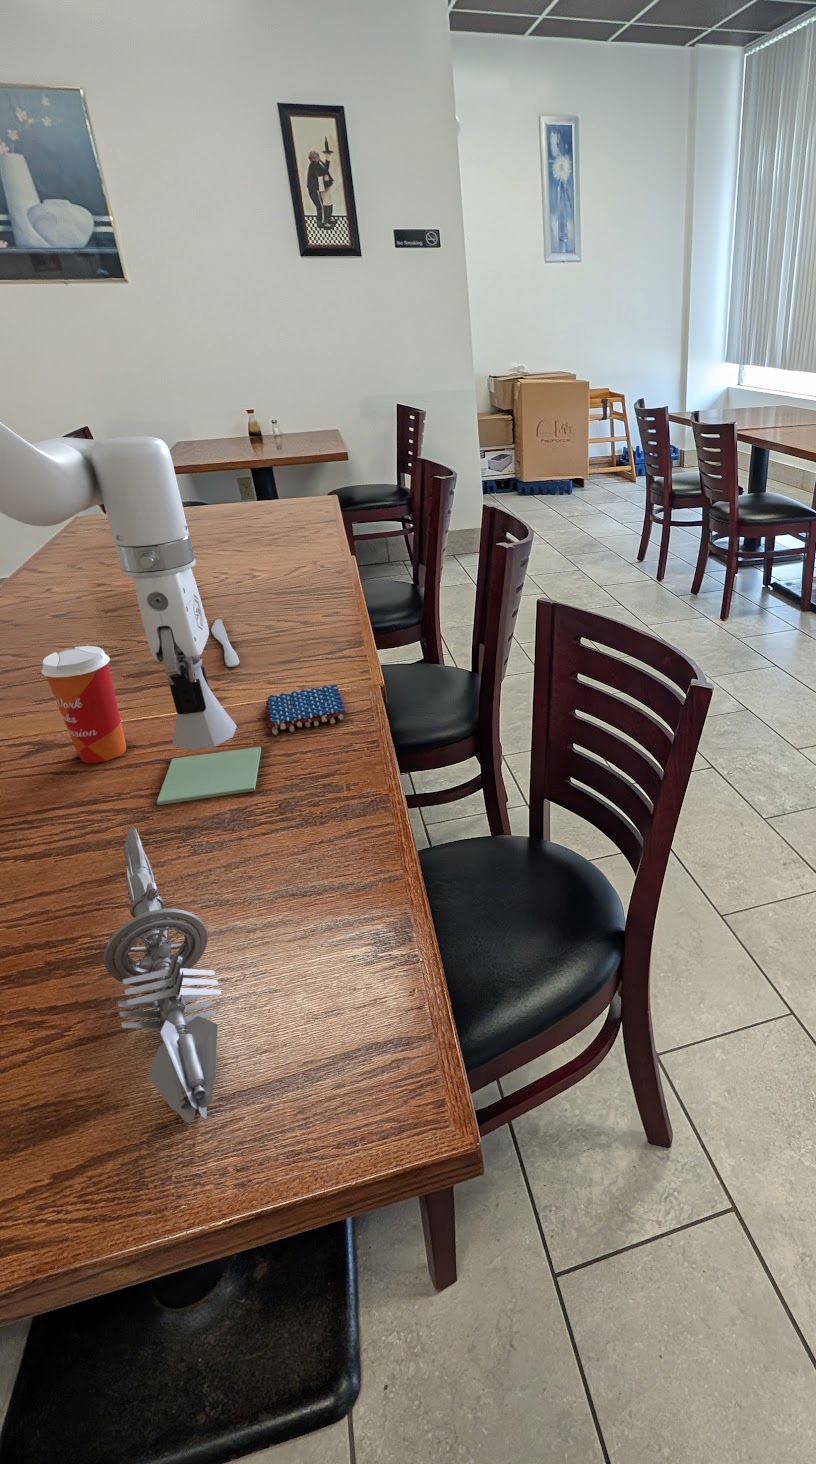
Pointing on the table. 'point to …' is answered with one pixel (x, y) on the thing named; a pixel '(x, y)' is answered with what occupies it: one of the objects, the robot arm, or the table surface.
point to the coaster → (210, 775)
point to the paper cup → (87, 701)
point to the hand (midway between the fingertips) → (194, 703)
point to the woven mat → (304, 708)
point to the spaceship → (166, 987)
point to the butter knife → (225, 643)
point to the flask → (203, 720)
